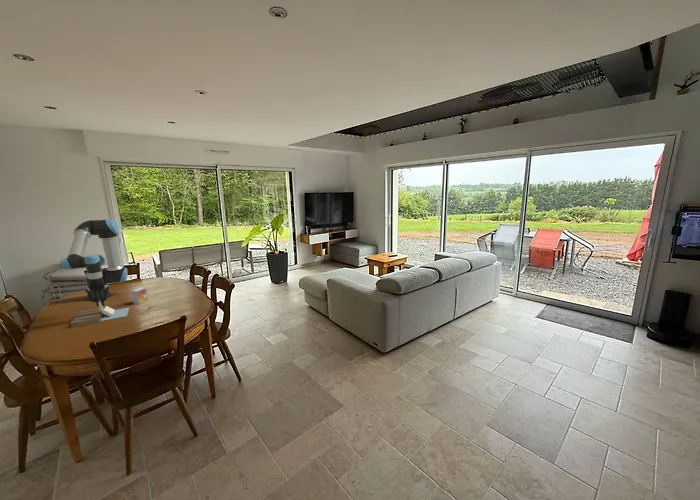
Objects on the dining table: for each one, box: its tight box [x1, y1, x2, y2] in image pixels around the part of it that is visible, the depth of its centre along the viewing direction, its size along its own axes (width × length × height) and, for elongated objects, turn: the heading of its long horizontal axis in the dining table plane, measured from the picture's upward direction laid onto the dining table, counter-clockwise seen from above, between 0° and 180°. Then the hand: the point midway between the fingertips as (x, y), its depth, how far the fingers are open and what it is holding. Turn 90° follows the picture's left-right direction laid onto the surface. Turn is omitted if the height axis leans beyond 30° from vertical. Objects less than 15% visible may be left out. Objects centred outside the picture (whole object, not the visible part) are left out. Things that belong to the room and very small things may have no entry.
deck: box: [70, 306, 106, 329], centre depth 193 cm, size 22×14×3 cm, turn 32°
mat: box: [100, 307, 130, 322], centre depth 201 cm, size 18×14×1 cm
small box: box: [130, 287, 149, 305], centre depth 222 cm, size 8×6×10 cm
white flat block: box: [102, 305, 116, 317], centre depth 198 cm, size 9×6×2 cm
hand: (101, 310), depth 196 cm, fingers closed
